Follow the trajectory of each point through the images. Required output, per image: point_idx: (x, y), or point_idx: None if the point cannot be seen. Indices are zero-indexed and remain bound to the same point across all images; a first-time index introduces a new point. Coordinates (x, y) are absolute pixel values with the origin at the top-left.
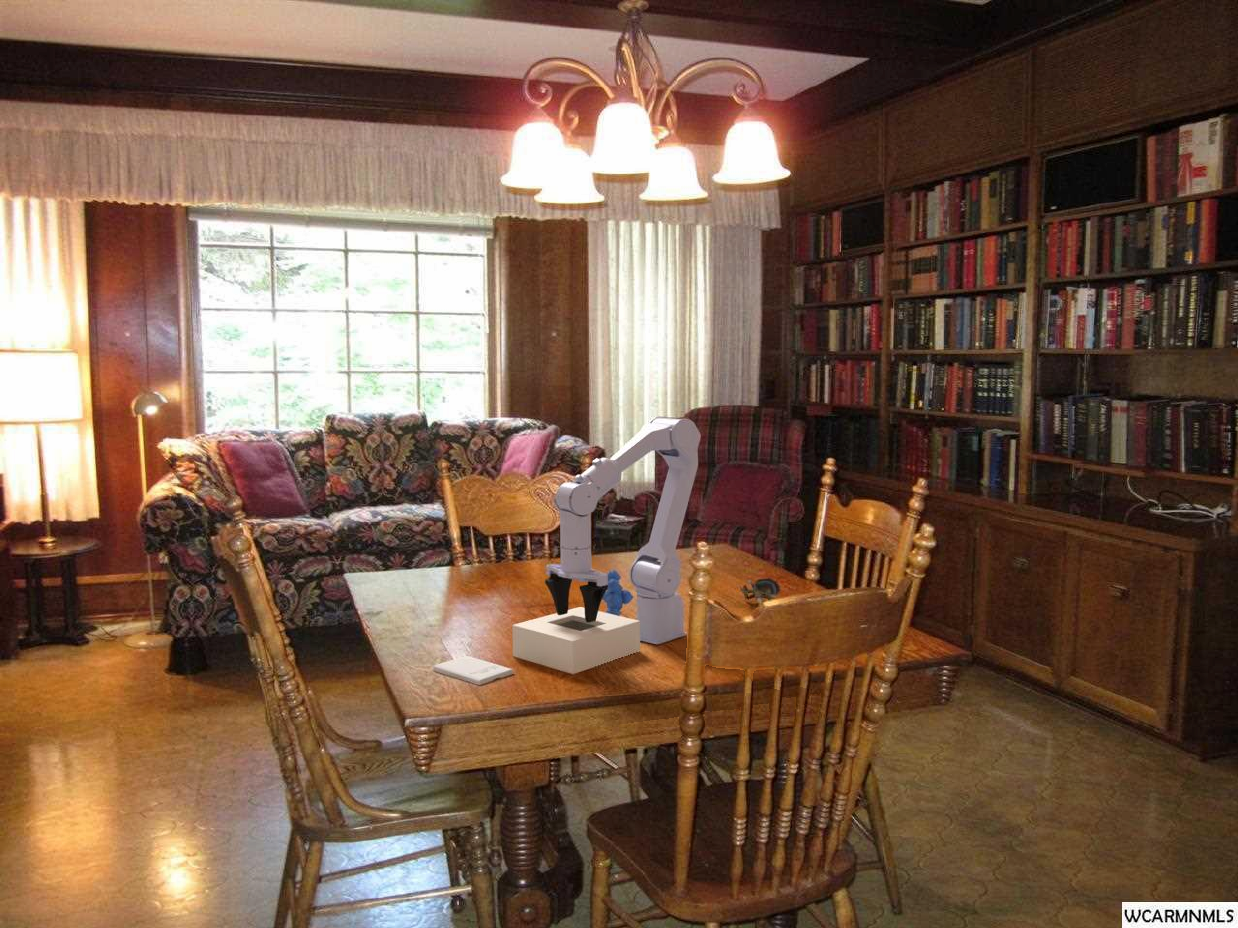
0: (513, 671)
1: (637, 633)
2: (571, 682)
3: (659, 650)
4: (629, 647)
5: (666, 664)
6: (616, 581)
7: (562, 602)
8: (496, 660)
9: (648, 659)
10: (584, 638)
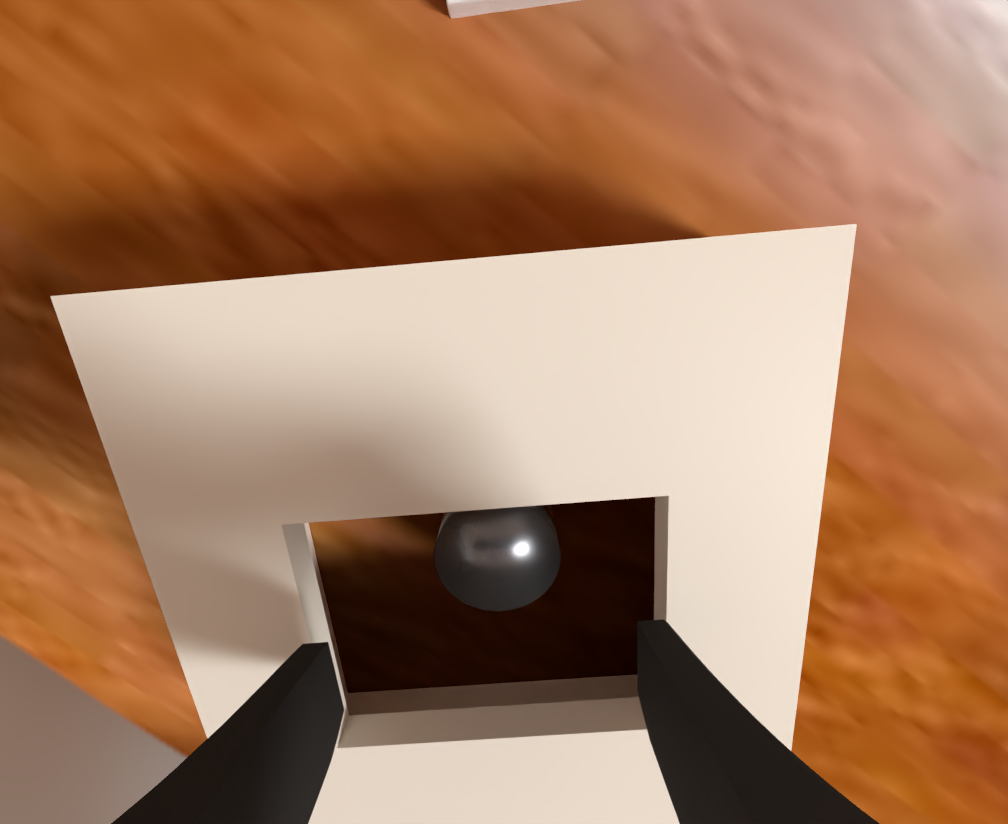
0: (448, 7)
1: None
2: (103, 186)
3: None
4: None
5: (114, 676)
6: None
7: (679, 752)
8: (736, 106)
9: None
10: (108, 434)
